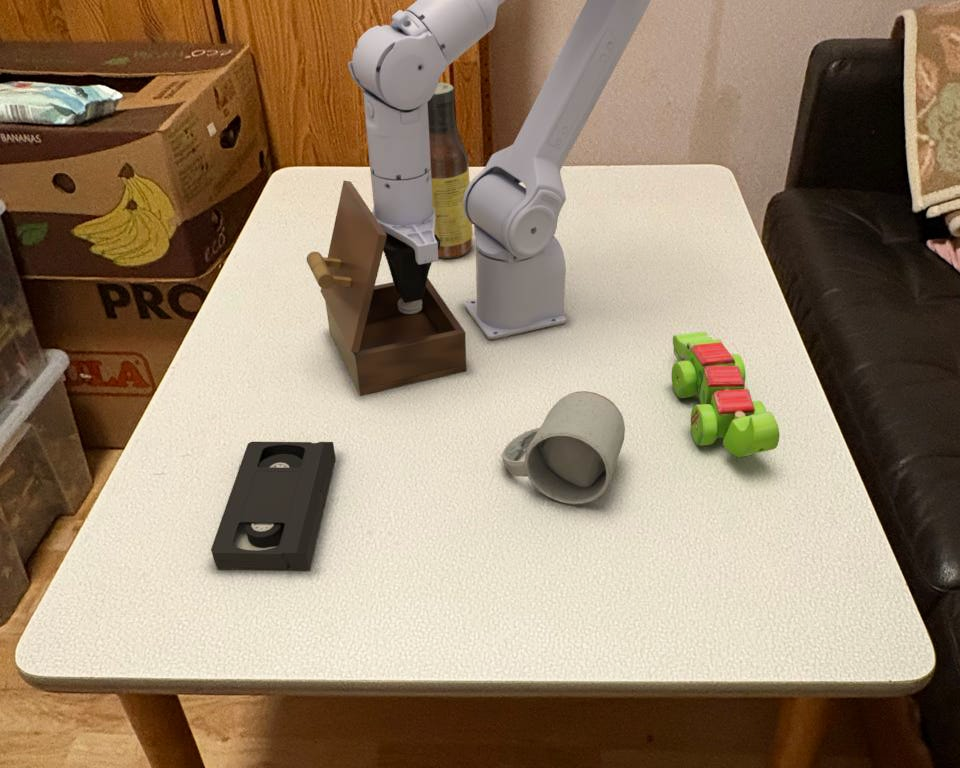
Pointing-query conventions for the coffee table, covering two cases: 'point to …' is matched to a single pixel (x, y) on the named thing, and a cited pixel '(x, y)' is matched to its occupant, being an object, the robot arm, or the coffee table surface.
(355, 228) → the lid
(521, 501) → the coffee table surface
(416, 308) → the pawn
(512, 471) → the ceramic mug
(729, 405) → the toy crocodile
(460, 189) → the sauce bottle
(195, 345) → the coffee table surface
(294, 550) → the vhs tape
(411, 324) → the box
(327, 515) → the coffee table surface
